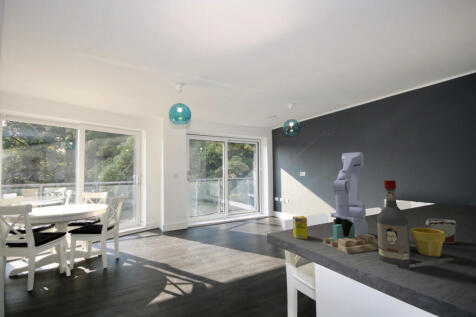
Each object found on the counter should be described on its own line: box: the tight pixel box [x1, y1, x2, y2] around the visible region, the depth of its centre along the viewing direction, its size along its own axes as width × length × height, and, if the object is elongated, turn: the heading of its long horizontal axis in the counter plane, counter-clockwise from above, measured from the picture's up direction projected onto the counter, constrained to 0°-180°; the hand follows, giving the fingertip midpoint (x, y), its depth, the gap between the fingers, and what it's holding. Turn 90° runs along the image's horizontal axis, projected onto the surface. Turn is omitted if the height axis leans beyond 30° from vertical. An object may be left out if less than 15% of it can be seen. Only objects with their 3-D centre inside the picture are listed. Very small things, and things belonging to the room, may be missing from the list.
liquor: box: [376, 179, 412, 269], centre depth 85 cm, size 9×9×30 cm
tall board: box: [332, 224, 355, 241], centre depth 106 cm, size 10×2×8 cm, turn 107°
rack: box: [321, 235, 379, 255], centre depth 102 cm, size 18×16×3 cm
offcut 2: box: [351, 237, 365, 246], centre depth 99 cm, size 5×4×4 cm
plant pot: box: [410, 227, 445, 257], centre depth 91 cm, size 10×10×10 cm
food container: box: [425, 218, 458, 244], centre depth 110 cm, size 12×6×10 cm, turn 84°
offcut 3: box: [359, 233, 376, 245], centre depth 100 cm, size 4×4×4 cm
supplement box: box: [292, 215, 308, 240], centre depth 117 cm, size 6×6×11 cm
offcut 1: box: [337, 238, 354, 252], centre depth 97 cm, size 4×4×4 cm
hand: (343, 235), depth 106 cm, fingers closed on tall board, 2 cm apart
